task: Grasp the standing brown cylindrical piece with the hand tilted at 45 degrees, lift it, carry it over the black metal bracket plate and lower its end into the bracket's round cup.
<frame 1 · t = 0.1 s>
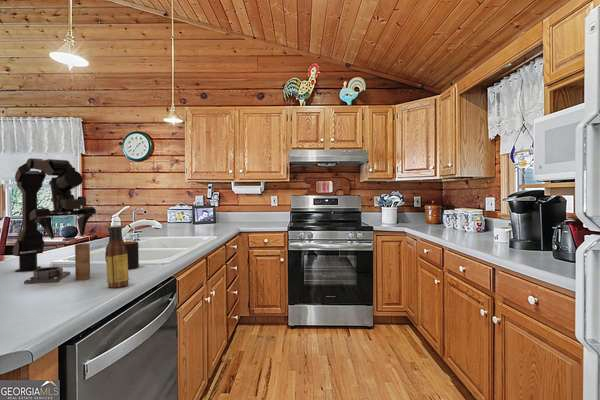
hand: (67, 237, 120), 15 cm above the countertop, tool pointing down, fingers open, 9 cm apart
sauce bottle: (117, 286, 114), on the countertop
mug: (122, 268, 141), on the countertop
brown cylindrical piece: (82, 279, 124), on the countertop
bracket: (48, 278, 124), on the countertop
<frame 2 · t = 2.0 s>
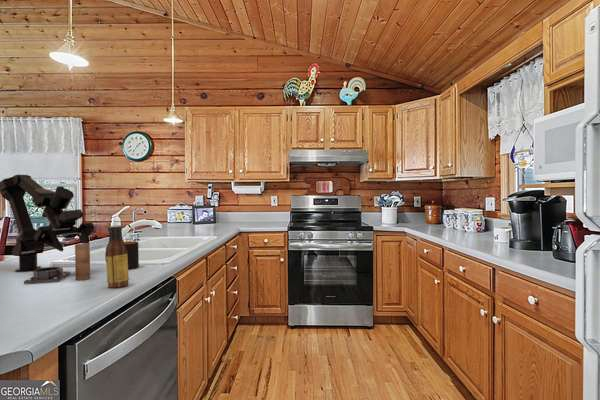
hand: (76, 248, 125), 11 cm above the countertop, tool tilted 45°, fingers open, 9 cm apart
nothing on the countertop moved.
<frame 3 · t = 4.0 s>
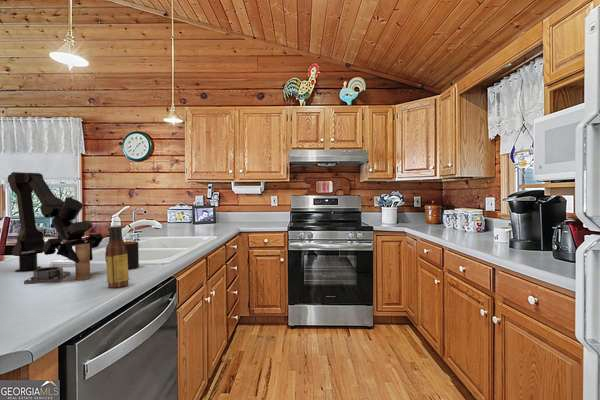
hand: (85, 261, 123), 7 cm above the countertop, tool tilted 45°, fingers closed on brown cylindrical piece, 4 cm apart
brown cylindrical piece: (83, 279, 124), on the countertop, touching gripper
everything else where it was.
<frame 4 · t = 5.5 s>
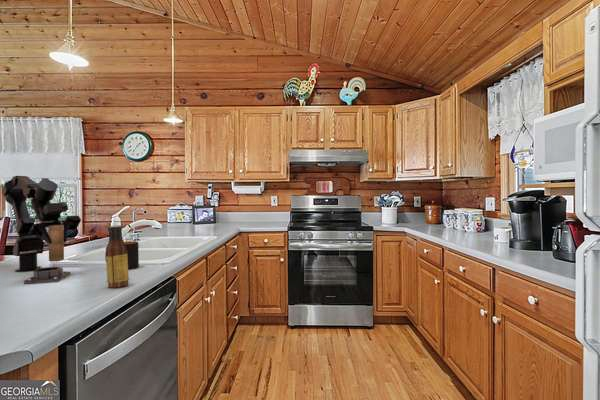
hand: (58, 242, 123), 13 cm above the countertop, tool tilted 45°, fingers closed on brown cylindrical piece, 4 cm apart
brown cylindrical piece: (56, 260, 124), point 7 cm above the countertop, touching gripper
everything else where it was.
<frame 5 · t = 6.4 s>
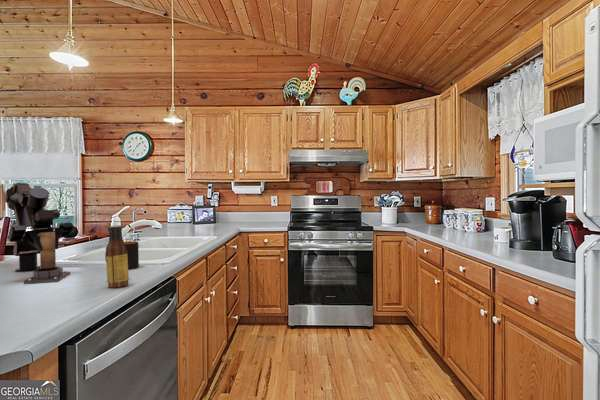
hand: (49, 249, 123), 11 cm above the countertop, tool tilted 45°, fingers closed on brown cylindrical piece, 4 cm apart
brown cylindrical piece: (48, 267, 124), point 4 cm above the countertop, touching gripper
everything else where it was.
when the fingers open (9 cm above the countertop, at t = 7.1 s): brown cylindrical piece drops 1 cm, resting on bracket.
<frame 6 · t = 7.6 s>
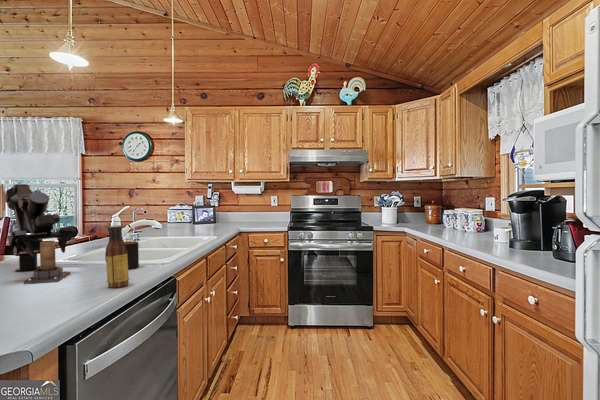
hand: (49, 254, 123), 9 cm above the countertop, tool tilted 45°, fingers open, 9 cm apart
brown cylindrical piece: (48, 276, 124), point 1 cm above the countertop, touching bracket
everything else where it was.
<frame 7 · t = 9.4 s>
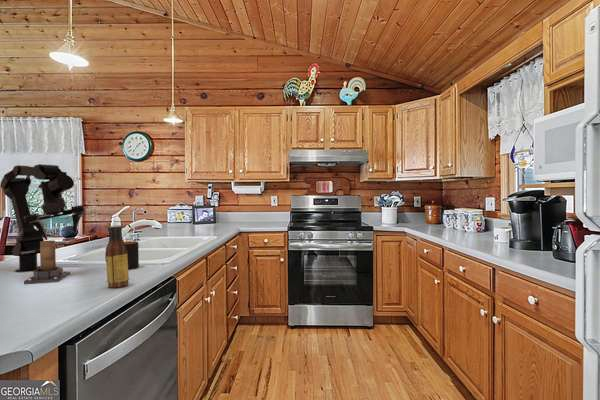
hand: (61, 236, 129), 14 cm above the countertop, tool tilted 15°, fingers open, 9 cm apart
nothing on the countertop moved.
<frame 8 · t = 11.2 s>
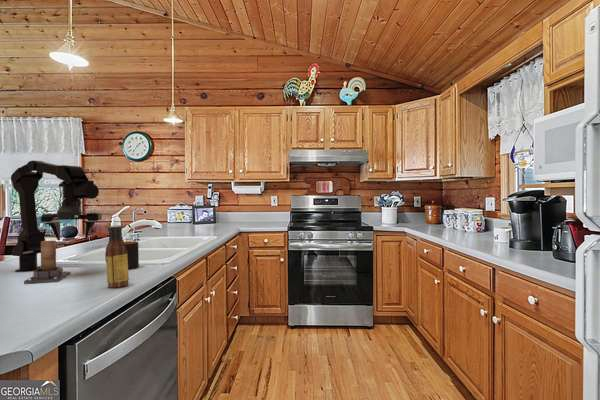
hand: (72, 239, 131), 13 cm above the countertop, tool pointing down, fingers open, 9 cm apart
nothing on the countertop moved.
at the end: brown cylindrical piece 0.1 cm off-centre on the bracket, point 1.0 cm above the bracket's base; brown cylindrical piece tilted 1°; the gripper is holding nothing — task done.
